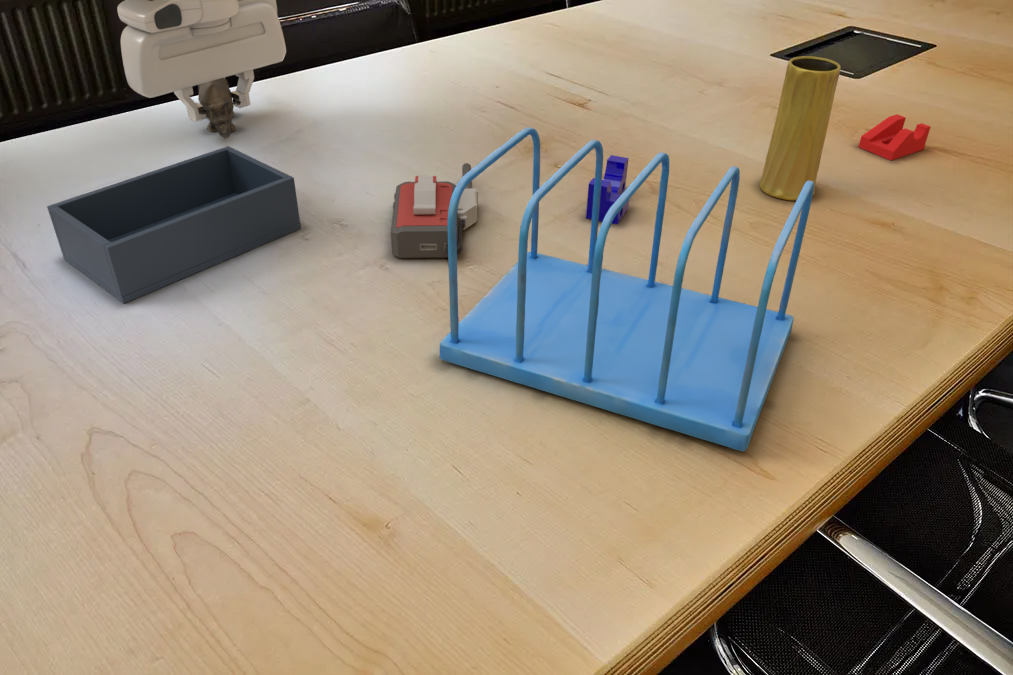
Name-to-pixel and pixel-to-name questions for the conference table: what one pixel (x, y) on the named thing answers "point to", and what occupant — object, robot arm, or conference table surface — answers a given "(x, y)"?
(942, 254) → the conference table surface
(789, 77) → the vase
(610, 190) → the cable holder
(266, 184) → the bin
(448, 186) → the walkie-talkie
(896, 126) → the bracket
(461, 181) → the file sorter
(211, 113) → the rhino figurine
